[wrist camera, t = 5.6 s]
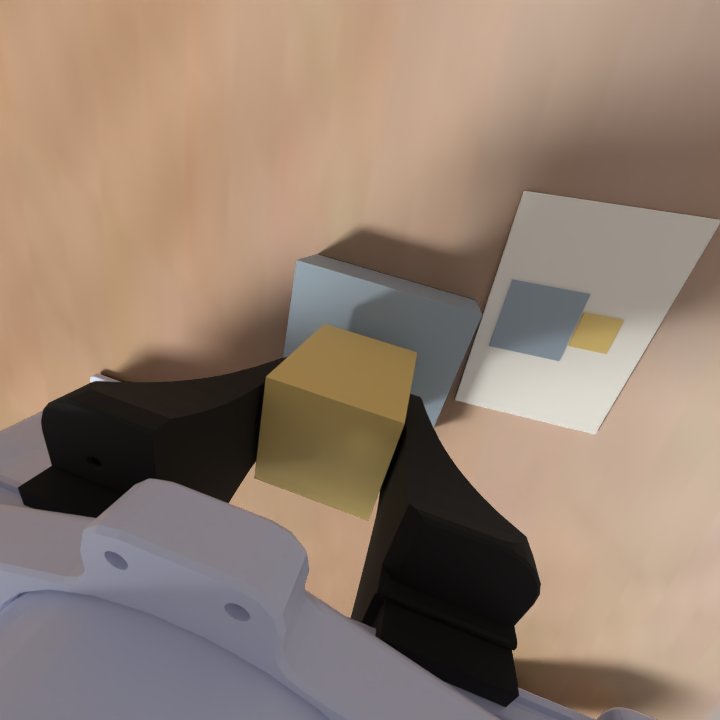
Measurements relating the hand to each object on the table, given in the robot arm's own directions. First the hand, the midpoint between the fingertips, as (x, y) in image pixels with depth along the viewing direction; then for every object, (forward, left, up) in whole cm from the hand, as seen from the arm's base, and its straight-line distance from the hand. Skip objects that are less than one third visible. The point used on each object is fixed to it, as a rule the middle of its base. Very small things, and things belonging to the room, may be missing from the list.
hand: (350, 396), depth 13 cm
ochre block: (0, 0, -2) cm, 2 cm away
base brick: (0, 0, -5) cm, 5 cm away
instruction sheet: (+8, +4, -5) cm, 10 cm away
